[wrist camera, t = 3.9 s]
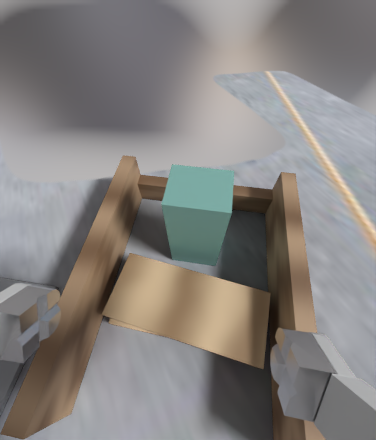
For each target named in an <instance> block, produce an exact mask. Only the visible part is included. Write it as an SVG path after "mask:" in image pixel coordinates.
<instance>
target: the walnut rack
mask: <svg viewBox="0 0 376 440" xmlns="http://www.w3.org/2000/svg"><path fill="white" fill-rule="evenodd" d="M167 182H168V178H164V177H155V176H146V175H140V171H139V168H138V164H137V161H136V157H131V156H123V157H122V159H121V161H120V163H119V166H118V168H117V170H116V173H115V175H114V177H113V179H112V182H111V184H110V186H109V188H108V191H107V193H106V195H105V197H104V200H103V202H102V204H101V207H100V209H99V211H98V213H97V216H96V218H95V220H94V222H93V225H92V227H91V229H90V231H89V234H88V236H87V238H86V241H85V243H84V245H83V247H82V250H81V252H80V254H79V256H78V259H77V261H76V263H75V266H74V268H73V270H72V272H71V275H70V277H69V279H68V281H67V284H66V286H65V288H64V291H63V293H62V295H61V297H60V301H59V302H58V304H57V305H58V307H59V308H60V310H61V317H60V322H59V324H58V326H57V328H56V330H55V331H54V332H53V333H52V334H51V335H50V337H48V338H46V339H44V340H41V343H40V347H39V348H38V350H37V352H36V354H35V356H34V359H33V361H32V363H31V365H30V368H29V370H28V372H27V374H26V377H25V379H24V381H23V384H22V386H21V388H20V390H19V393H18V395H17V397H16V399H15V402H14V404H13V406H12V409H11V411H10V413H9V415H8V418H7V420H6V422H5V424H4V427H3V429H2V431H1V434H2V435H6V436H11V437H15V438H19V439H25V438H27V437H29V436H31V435H33V434H34V433H36V432H38V431H40V430H42V429H44V428H46V427H47V426H49V425H51V424H53V423H55V422H57V421H59V420H60V419H62V418H64V417H66V416H68V415H70V414H71V413H72V410H73V407H74V404H75V400H76V397H77V394H78V391H79V388H80V385H81V382H82V379H83V376H84V373H85V370H86V367H87V364H88V361H89V358H90V355H91V352H92V349H93V346H94V343H95V340H96V337H97V334H98V330H99V327H100V324H101V321H102V318H103V315H102V313H103V311H104V308H105V306H106V304H107V302H108V300H109V297H110V294H111V291H112V288H113V285H114V282H115V279H116V276H117V273H118V270H119V267H120V263H121V260H122V257H123V254H124V251H125V248H126V245H127V242H128V239H129V236H130V233H131V230H132V227H133V224H134V221H135V218H136V215H137V212H138V209H139V206H140V203H141V200H142V198H143V199H152V200H160V201H162V200H163V197H164V193H165V189H166V185H167ZM232 209H234V210H242V211H250V212H258V213H265V219H266V247H267V275H268V292H269V293H271V295H270V305H269V330H270V357H271V351H272V347H274V346H275V345H276V344H277V341H276V338H275V335H276V332H277V330H278V328H285V329H291V330H297V331H303V332H313V333H317V328H316V320H315V313H314V306H313V298H312V291H311V284H310V276H309V269H308V262H307V255H306V247H305V240H304V233H303V225H302V218H301V211H300V203H299V196H298V189H297V181H296V174H294V173H284V172H281V174H280V176H279V178H278V180H277V182H276V183H275V185H274V187H273V189H272V190H271V189H262V188H253V187H244V186H235V185H233V200H232ZM271 386H272V414H273V440H326V439H325V438H324V436H323V435H322V434H321V432H320V431H319V430H318V429H317V427H316V426H315V425H314V422H311V421H306V420H302V419H298V418H293V417H289V416H285V415H284V412H283V409H282V406H281V403H280V399H279V396H278V389H279V384H278V383H277V382H276V381H275V380H274V379H273V375H272V372H271Z"/></svg>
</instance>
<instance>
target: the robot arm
mask: <svg viewBox="0 0 376 440" xmlns="http://www.w3.org/2000/svg"><path fill="white" fill-rule="evenodd" d="M59 301H60V292H59V291H58V290H57V289H52V288H46V287H41V286H36V285H30V284H25V283H15V284H13V285H12V286H10V287H8V288H7V289H5V290H3V291H2V292H0V360H5V361H12V362H18V363H25V362H26V361H27V359H28V358H29V357H30V356H31V355H32V354H33V353H34V352H35V351H36V350H37V349H38V348H39V347H40V341H41V340H44V339H46V338H48V337H50V335H51V334H52V333H53V332H54V331H55V330H56V328H57V326H58V324H59V322H60V317H61V310H60V308H59V307H58V305H57V303H58V302H59ZM275 338H276V341H277V344H276V345H275V346H274V347H272V351H271V357H270V365H271V372H272V375H273V379H274V380H275V381H276V382H277V383H278V384H279V389H278V396H279V399H280V403H281V406H282V409H283V412H284V415H285V416H289V417H293V418H298V419H302V420H306V421H311V422H314V425H315V426H316V427H317V429H318V430H319V431H320V432H321V434H322V435H323V436H324V438H325V439H326V440H376V389H374V388H373V387H372V386H370V385H369V384H368V383H366V382H365V381H364V380H362V379H359V378H356V377H355V375H354V374H353V372H352V371H351V370H350V368H349V367H348V365H347V364H346V362H345V361H344V359H343V358H342V357H341V355H340V354H339V352H338V351H337V349H336V348H335V346H334V345H333V344H332V342H331V341H330V339H329V338H328V337H327V336H326V335H325V334H320V333H313V332H303V331H297V330H291V329H285V328H278V330H277V332H276V335H275Z"/></svg>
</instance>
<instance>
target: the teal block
mask: <svg viewBox="0 0 376 440" xmlns="http://www.w3.org/2000/svg"><path fill="white" fill-rule="evenodd" d="M233 183H234V171H229V170H219V169H210V168H201V167H191V166H181V165H172V167H171V170H170V174H169V178H168V182H167V185H166V189H165V193H164V197H163V200H162V204H161V205H162V210H163V215H164V220H165V225H166V230H167V236H168V241H169V246H170V251H171V256H172V260H178V261H185V262H192V263H199V264H206V265H212V266H216V263H217V260H218V256H219V253H220V250H221V247H222V243H223V240H224V237H225V234H226V230H227V227H228V224H229V220H230V217H231V214H232V200H233Z"/></svg>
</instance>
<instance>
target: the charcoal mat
mask: <svg viewBox="0 0 376 440" xmlns="http://www.w3.org/2000/svg"><path fill="white" fill-rule="evenodd" d="M15 283H25V284H30V285H36V286H41V287H46V288H52V289H57V290H58V287H55V286H49V285H43V284H37V283H31V282H25V281H19V280H12V279H6V278H0V292H2V291H3V290H5V289H7V288H8V287H10V286H12V285H13V284H15ZM23 365H24V363H18V362H12V361H5V360H0V416H1V414H2V412H3V409H4V407H5V405H6V403H7V401H8V398H9V396H10V394H11V392H12V390H13V387H14V385H15V383H16V381H17V379H18V376H19V374H20V372H21V370H22V368H23Z"/></svg>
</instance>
